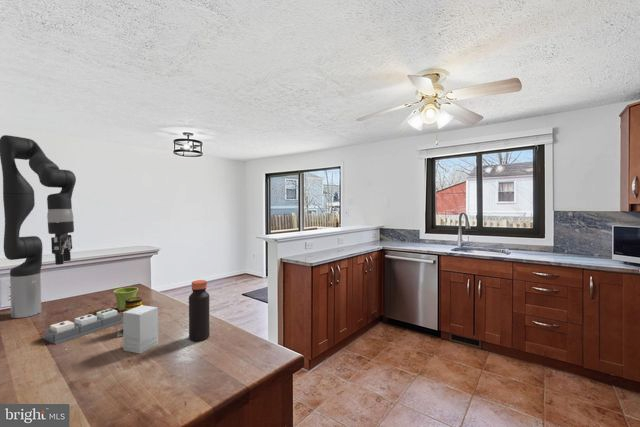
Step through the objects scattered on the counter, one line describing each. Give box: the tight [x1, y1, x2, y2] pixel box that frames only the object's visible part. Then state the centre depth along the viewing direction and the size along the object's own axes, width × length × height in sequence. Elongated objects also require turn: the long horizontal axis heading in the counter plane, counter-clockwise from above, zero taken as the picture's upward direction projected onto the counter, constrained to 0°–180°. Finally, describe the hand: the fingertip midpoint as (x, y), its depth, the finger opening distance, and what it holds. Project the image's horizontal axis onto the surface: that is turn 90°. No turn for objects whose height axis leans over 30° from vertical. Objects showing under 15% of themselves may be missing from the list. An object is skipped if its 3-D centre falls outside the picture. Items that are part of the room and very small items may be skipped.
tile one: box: [49, 320, 74, 333], centre depth 105 cm, size 5×5×3 cm
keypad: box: [41, 312, 123, 345], centre depth 111 cm, size 10×22×3 cm, turn 153°
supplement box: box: [122, 304, 159, 354], centre depth 98 cm, size 7×7×13 cm
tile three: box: [96, 308, 118, 319], centre depth 118 cm, size 5×5×3 cm
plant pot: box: [113, 286, 139, 312], centre depth 134 cm, size 9×9×9 cm
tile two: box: [74, 313, 97, 326], centre depth 111 cm, size 5×5×3 cm
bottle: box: [188, 279, 210, 342], centre depth 105 cm, size 7×7×20 cm
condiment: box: [116, 296, 143, 338], centre depth 110 cm, size 7×8×12 cm
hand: (63, 262), depth 115 cm, fingers open, 8 cm apart
